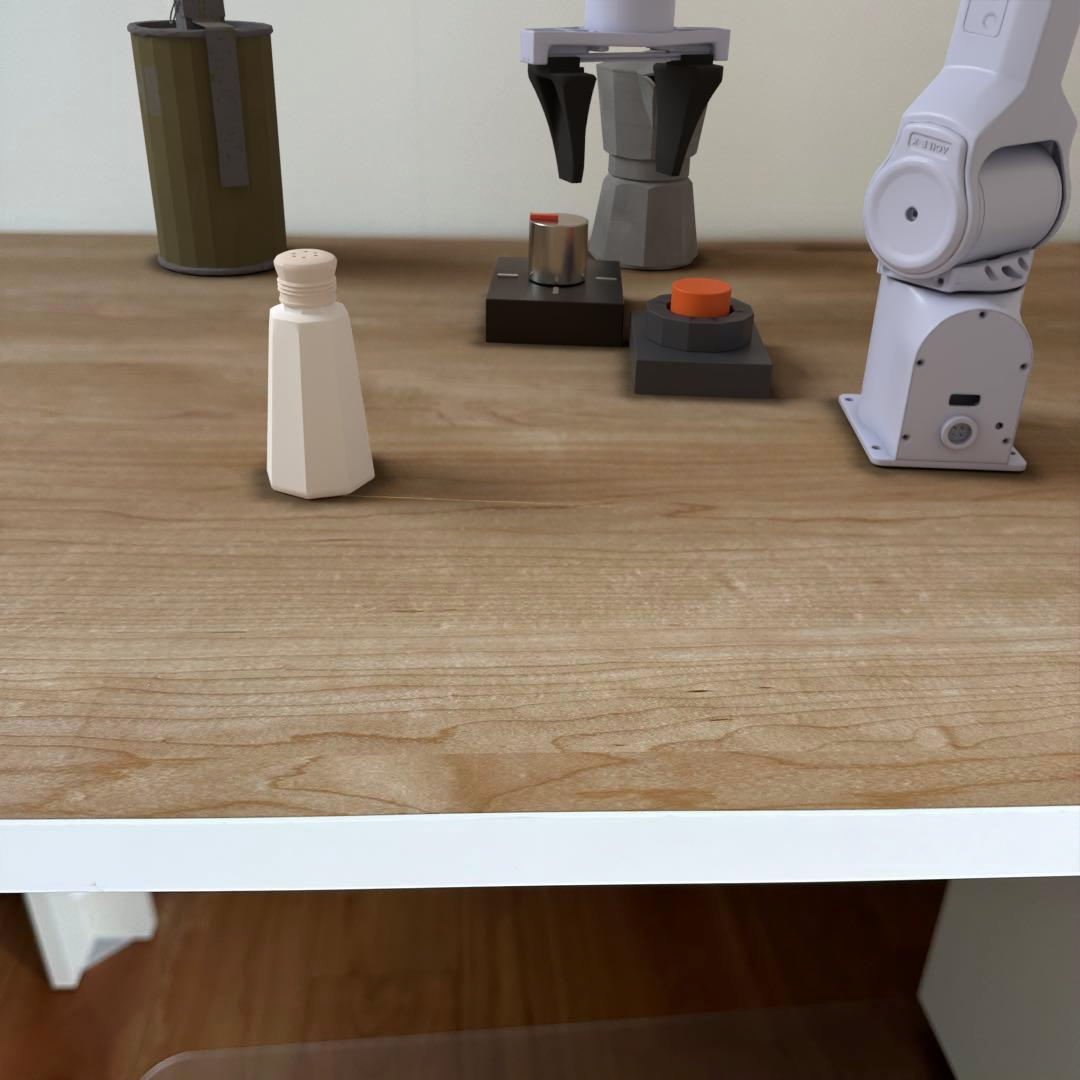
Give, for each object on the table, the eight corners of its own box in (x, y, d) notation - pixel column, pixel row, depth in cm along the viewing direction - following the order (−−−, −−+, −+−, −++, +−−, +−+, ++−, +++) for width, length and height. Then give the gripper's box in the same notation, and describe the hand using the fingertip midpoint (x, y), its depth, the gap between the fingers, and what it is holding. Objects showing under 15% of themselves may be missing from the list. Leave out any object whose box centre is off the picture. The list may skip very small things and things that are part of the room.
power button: (731, 323, 69) (735, 294, 68) (672, 321, 69) (674, 292, 68) (725, 305, 72) (728, 278, 71) (668, 303, 72) (670, 276, 71)
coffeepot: (702, 279, 90) (725, 33, 82) (584, 274, 91) (595, 28, 82) (693, 234, 104) (712, 19, 96) (590, 230, 104) (601, 15, 96)
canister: (146, 250, 94) (109, -19, 84) (270, 239, 98) (248, -18, 89) (175, 283, 86) (138, -12, 76) (309, 269, 90) (289, -11, 81)
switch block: (768, 400, 67) (777, 334, 65) (633, 394, 68) (638, 329, 66) (747, 345, 76) (754, 287, 74) (628, 341, 76) (632, 282, 74)
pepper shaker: (338, 445, 60) (325, 234, 55) (397, 480, 56) (389, 258, 51) (245, 471, 57) (221, 250, 51) (300, 510, 53) (281, 277, 48)
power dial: (585, 271, 80) (588, 209, 78) (585, 286, 77) (588, 222, 75) (529, 269, 80) (530, 207, 78) (526, 284, 77) (528, 220, 75)
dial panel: (621, 348, 75) (624, 301, 74) (485, 343, 75) (485, 296, 74) (617, 300, 85) (620, 258, 83) (497, 296, 85) (497, 254, 83)
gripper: (695, -48, 77) (678, 161, 83) (500, -53, 71) (498, 172, 77) (757, -45, 71) (734, 179, 78) (551, -50, 65) (544, 192, 72)
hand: (619, 177), depth 77 cm, fingers open, 7 cm apart
